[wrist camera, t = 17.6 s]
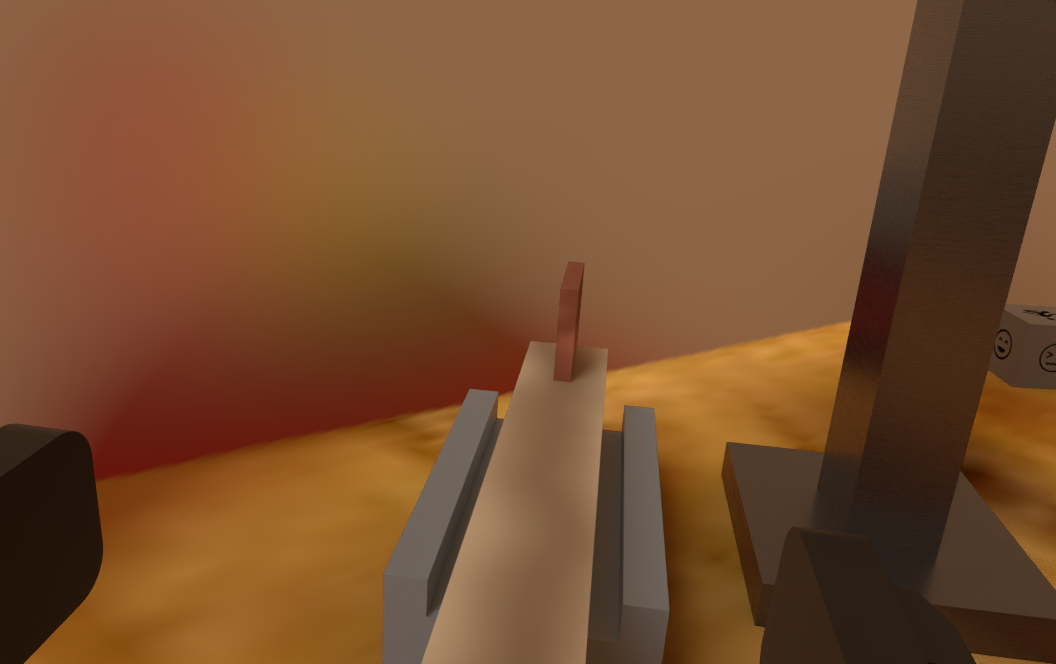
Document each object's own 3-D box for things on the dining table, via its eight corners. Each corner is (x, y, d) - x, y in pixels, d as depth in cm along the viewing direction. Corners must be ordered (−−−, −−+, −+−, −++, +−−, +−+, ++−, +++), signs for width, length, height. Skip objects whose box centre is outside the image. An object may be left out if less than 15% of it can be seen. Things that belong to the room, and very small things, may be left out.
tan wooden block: (395, 864, 19) (400, 563, 17) (525, 411, 44) (536, 258, 41) (564, 891, 19) (597, 588, 16) (600, 419, 43) (616, 266, 41)
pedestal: (754, 625, 33) (937, -335, 22) (721, 474, 45) (830, -203, 34) (1066, 664, 32) (1410, -322, 21) (948, 499, 44) (1133, -190, 33)
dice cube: (1039, 366, 65) (1056, 307, 64) (1078, 391, 61) (1098, 328, 59) (977, 363, 65) (993, 303, 64) (1012, 387, 61) (1030, 324, 59)
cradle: (382, 682, 29) (383, 574, 27) (466, 465, 44) (469, 388, 42) (653, 719, 28) (669, 610, 27) (644, 486, 43) (654, 408, 42)
